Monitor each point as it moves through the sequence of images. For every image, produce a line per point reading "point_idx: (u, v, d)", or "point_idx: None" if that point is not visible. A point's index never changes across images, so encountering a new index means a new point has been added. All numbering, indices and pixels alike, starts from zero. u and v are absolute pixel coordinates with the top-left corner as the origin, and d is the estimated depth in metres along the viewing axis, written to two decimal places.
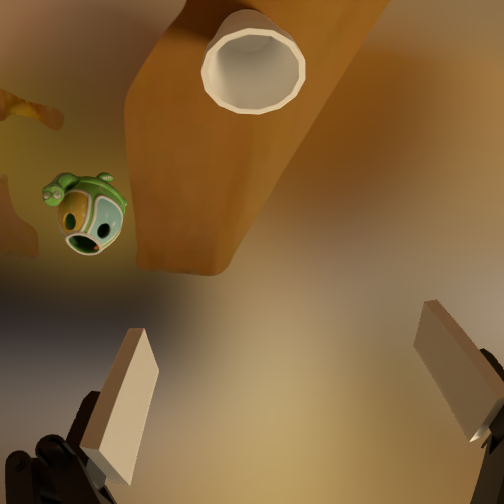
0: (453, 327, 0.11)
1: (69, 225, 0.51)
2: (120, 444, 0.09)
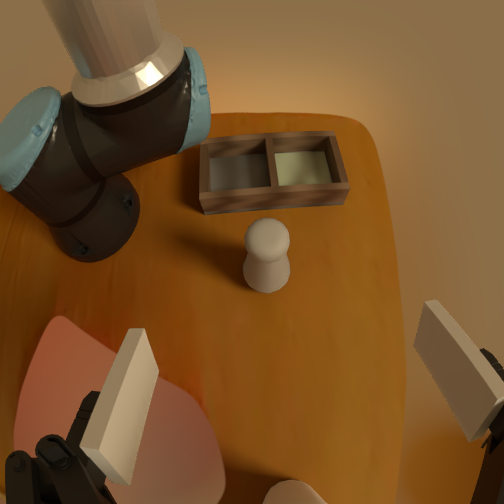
0: (453, 327, 0.11)
1: None
2: (120, 444, 0.09)
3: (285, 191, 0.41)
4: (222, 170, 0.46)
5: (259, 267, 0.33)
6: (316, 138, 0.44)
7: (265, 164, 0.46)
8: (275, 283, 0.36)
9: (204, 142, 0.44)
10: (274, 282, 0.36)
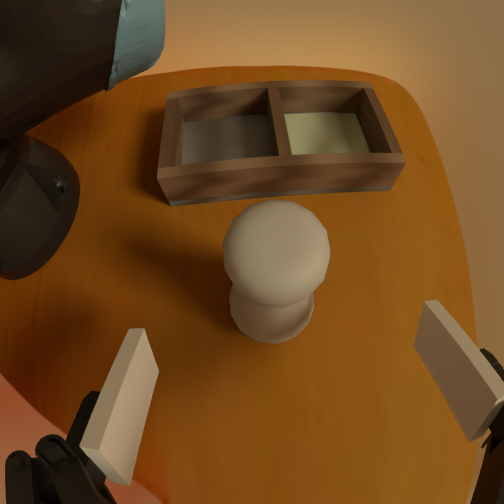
0: (453, 327, 0.11)
1: None
2: (120, 444, 0.09)
3: (303, 163, 0.23)
4: (201, 139, 0.29)
5: (258, 308, 0.15)
6: (345, 90, 0.27)
7: (268, 128, 0.29)
8: (289, 331, 0.19)
9: (173, 96, 0.27)
10: (288, 329, 0.18)
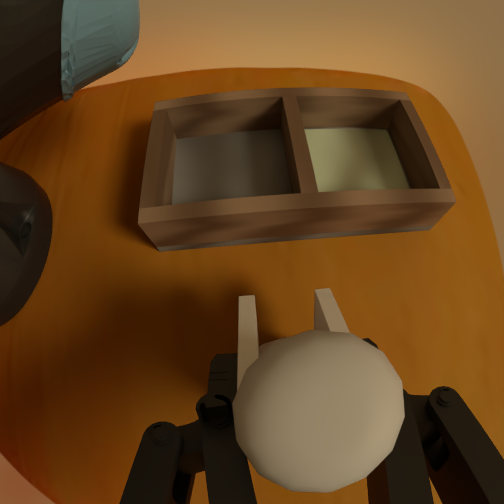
0: (333, 314, 0.13)
1: None
2: None
3: (333, 205, 0.17)
4: (197, 161, 0.23)
5: None
6: (378, 102, 0.21)
7: (282, 148, 0.23)
8: None
9: (162, 106, 0.21)
10: None
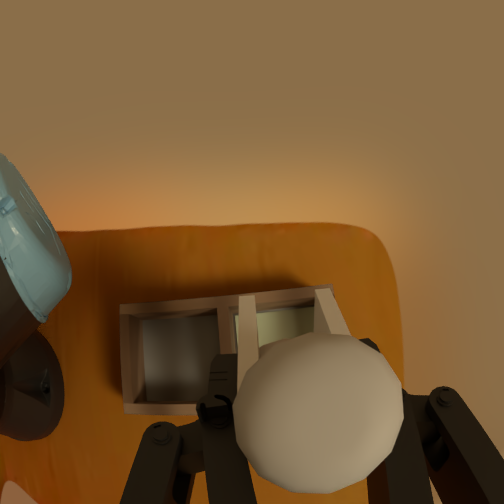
0: (333, 314, 0.13)
1: None
2: None
3: None
4: (159, 345, 0.30)
5: None
6: (303, 299, 0.28)
7: None
8: None
9: (125, 311, 0.28)
10: None
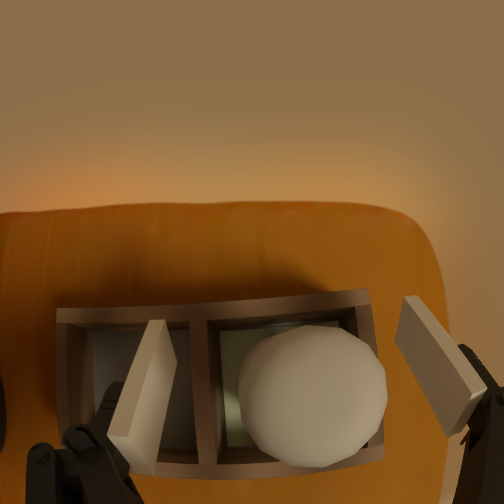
0: (431, 322, 0.12)
1: None
2: (145, 432, 0.09)
3: (231, 477, 0.14)
4: (114, 367, 0.20)
5: None
6: (323, 311, 0.18)
7: None
8: None
9: (63, 318, 0.18)
10: None
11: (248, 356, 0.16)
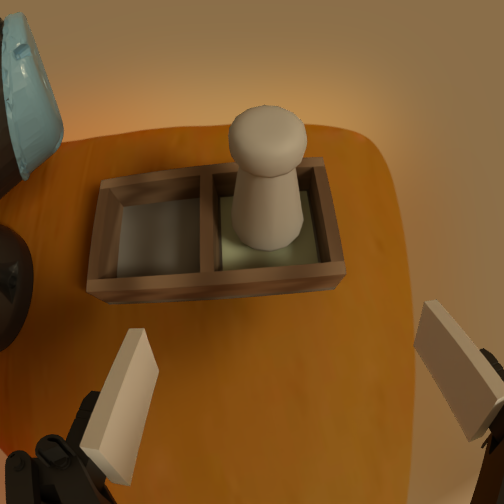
0: (453, 327, 0.11)
1: None
2: (120, 444, 0.09)
3: (224, 282, 0.22)
4: (137, 229, 0.28)
5: (254, 195, 0.19)
6: None
7: None
8: (282, 232, 0.23)
9: (106, 185, 0.26)
10: (280, 229, 0.22)
11: None
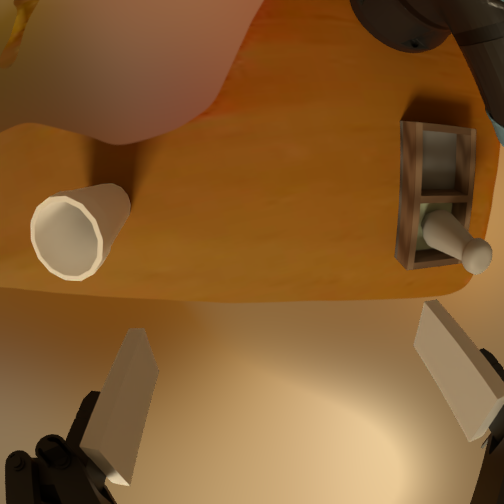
0: (453, 327, 0.11)
1: None
2: (120, 444, 0.09)
3: (414, 209, 0.37)
4: (442, 144, 0.36)
5: (455, 239, 0.33)
6: None
7: (443, 188, 0.39)
8: (432, 241, 0.38)
9: (472, 133, 0.32)
10: (434, 241, 0.37)
11: (455, 218, 0.37)
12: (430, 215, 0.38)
